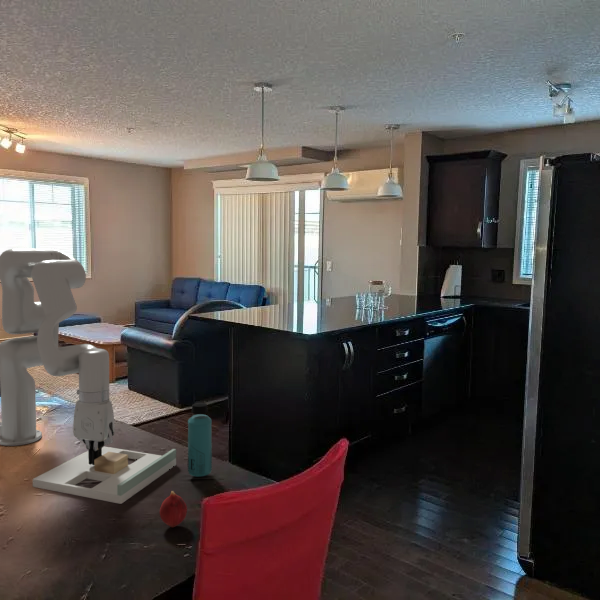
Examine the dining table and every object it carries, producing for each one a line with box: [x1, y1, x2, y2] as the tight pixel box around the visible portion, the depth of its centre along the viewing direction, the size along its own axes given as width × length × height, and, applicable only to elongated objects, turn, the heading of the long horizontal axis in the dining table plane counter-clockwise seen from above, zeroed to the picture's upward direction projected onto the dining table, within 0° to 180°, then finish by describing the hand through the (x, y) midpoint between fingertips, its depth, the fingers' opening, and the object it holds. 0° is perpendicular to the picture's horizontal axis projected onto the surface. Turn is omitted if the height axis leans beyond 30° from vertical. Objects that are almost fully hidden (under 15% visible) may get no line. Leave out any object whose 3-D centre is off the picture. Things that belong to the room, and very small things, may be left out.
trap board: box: [32, 446, 177, 504], centre depth 145 cm, size 26×25×4 cm
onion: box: [159, 490, 188, 528], centre depth 120 cm, size 6×6×8 cm
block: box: [94, 452, 129, 474], centre depth 145 cm, size 6×6×3 cm
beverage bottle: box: [186, 402, 213, 477], centre depth 145 cm, size 6×7×20 cm
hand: (95, 462), depth 147 cm, fingers closed
